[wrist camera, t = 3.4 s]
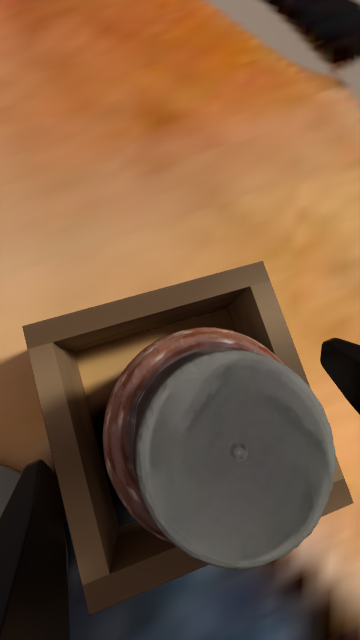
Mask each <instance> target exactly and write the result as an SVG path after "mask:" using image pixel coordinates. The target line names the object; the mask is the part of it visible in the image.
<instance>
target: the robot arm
mask: <svg viewBox="0 0 360 640" xmlns="http://www.w3.org/2000/svg"><path fill="white" fill-rule="evenodd" d="M320 361H321V365H322V366H323V368H324V369H325V371H326V372H327V373H328V375H329V376H330V377H331V379H332V380H333V381H334V383H335V384H336V385H337V387H338V388H339V389H340V391H341V392H342V393H343V395H344V396H345V398H346V399H347V400H348V401H349V403H350V404H351V405H352V406H353V407H354V409H355V410H356V411H357V412H358V413H359V414H360V345H357V344H354V343H351V342H348V341H345V340H342V339H339V338H332V339H329V340H327V341H324V342H323V344H322V349H321V358H320ZM0 640H70V631H69V606H68V582H67V557H66V538H65V530H64V523H63V516H62V510H61V503H60V497H59V490H58V484H57V479H56V476H55V474H54V472H53V471H52V470H51V469H50V468H49V466H48V465H47V464H46V463H45V462H44V461H43V460H41V459H39V460H37V461H34V462H32V463H29V464H27V465H26V466H25V468H24V469H23V471H22V473H21V475H20V477H19V479H18V481H17V483H16V486H15V488H14V490H13V492H12V494H11V496H10V498H9V500H8V502H7V504H6V506H5V508H4V510H3V512H2V514H1V516H0Z"/></svg>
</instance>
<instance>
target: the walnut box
mask: <svg viewBox="0 0 360 640" xmlns="http://www.w3.org/2000/svg"><path fill="white" fill-rule="evenodd" d="M226 307H229V310H230V313H231V316H232V319H233V322H234V325H235V327H236V330H237V333H240V334H243V335H245V336H248V337H250V338H252V339H254V340H256V341H257V342H259V343H261V344H262V345H264V346H265V347H267V348H268V349H269V350H270V351H271V352H272V353H274V354H275V355H276V356H277V357H278V358H279V359H280V360H281V361H282V362H283V364H284V365H286V366H287V367H289V368H290V369H291V370H292V371H294V372H295V373H297V374H298V375H299V376H300V377H301V378H302V379H303V380H304V382H305V383H306V384H307V385H309V383H308V380H307V378H306V375H305V372H304V370H303V367H302V364H301V362H300V359H299V356H298V354H297V351H296V348H295V346H294V343H293V340H292V338H291V335H290V332H289V330H288V327H287V324H286V322H285V319H284V316H283V314H282V311H281V308H280V306H279V303H278V300H277V298H276V295H275V293H274V290H273V287H272V285H271V282H270V279H269V277H268V274H267V271H266V269H265V266H264V263H263V261H261V262H257V263H253V264H250V265H246V266H242V267H239V268H235V269H231V270H228V271H224V272H220V273H216V274H213V275H209V276H205V277H202V278H198V279H194V280H191V281H187V282H183V283H180V284H176V285H172V286H169V287H165V288H161V289H158V290H154V291H150V292H147V293H143V294H139V295H136V296H132V297H128V298H124V299H121V300H117V301H113V302H110V303H106V304H102V305H99V306H95V307H91V308H88V309H84V310H80V311H77V312H73V313H69V314H66V315H62V316H58V317H55V318H51V319H47V320H43V321H40V322H36V323H32V324H29V325H25V326H22V327H23V331H24V336H25V340H26V344H27V349H28V353H29V357H30V361H31V366H32V370H33V374H34V379H35V383H36V387H37V392H38V396H39V400H40V405H41V409H42V413H43V417H44V422H45V426H46V430H47V435H48V439H49V443H50V448H51V452H52V456H53V461H54V465H55V469H56V473H57V478H58V482H59V486H60V491H61V495H62V499H63V504H64V508H65V512H66V517H67V521H68V525H69V529H70V534H71V538H72V542H73V547H74V551H75V555H76V560H77V564H78V568H79V573H80V577H81V581H82V585H83V590H84V594H85V598H86V603H87V607H88V611H89V615H91V614H94V613H96V612H98V611H101V610H103V609H105V608H108V607H110V606H112V605H115V604H117V603H119V602H122V601H124V600H126V599H129V598H131V597H134V596H136V595H138V594H141V593H143V592H145V591H148V590H150V589H152V588H155V587H157V586H159V585H162V584H164V583H166V582H169V581H171V580H174V579H176V578H178V577H181V576H183V575H185V574H188V573H190V572H192V571H195V570H197V569H199V568H202V567H204V566H207V565H209V564H206V563H203V562H201V561H199V560H197V559H194V558H192V557H190V556H189V555H187V554H186V553H184V552H183V551H181V550H180V549H179V548H177V547H176V546H175V545H174V544H172V543H170V542H168V541H166V540H162V539H160V538H158V537H157V536H155V535H154V534H152V533H151V532H149V531H147V530H146V529H145V528H144V527H143V526H142V525H140V524H139V523H138V522H137V520H134V521H131V522H129V523H126V524H123V525H121V526H119V524H118V520H117V516H116V513H115V509H114V505H113V501H112V497H111V493H110V489H109V485H108V481H107V478H106V474H105V470H104V466H103V462H102V458H101V454H100V450H99V446H98V442H97V439H96V435H95V431H94V427H93V423H92V419H91V415H90V411H89V407H88V403H87V400H86V396H85V392H84V388H83V384H82V380H81V376H80V372H79V368H78V365H77V361H76V357H75V353H74V352H75V351H79V350H82V349H86V348H89V347H93V346H96V345H99V344H103V343H106V342H110V341H113V340H117V339H120V338H123V337H127V336H130V335H134V334H137V333H141V332H144V331H147V330H151V329H154V328H158V327H161V326H165V325H168V324H171V323H175V322H178V321H182V320H185V319H189V318H192V317H195V316H199V315H202V314H206V313H209V312H213V311H216V310H220V309H223V308H226ZM309 387H310V386H309ZM310 389H311V388H310ZM352 503H353V500H352V497H351V495H350V492H349V489H348V487H347V484H346V482H345V479H344V476H343V474H342V471H341V468H340V466H339V463H338V460H337V458H336V455H335V472H334V478H333V489H332V491H331V492H330V495H329V500H328V502H327V504H326V507H325V509H324V511H323V514H322V516H324V515H327V514H329V513H331V512H334V511H336V510H338V509H341V508H343V507H345V506H348V505H350V504H352ZM322 516H321V517H322Z"/></svg>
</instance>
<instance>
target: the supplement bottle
mask: <svg viewBox="0 0 360 640" xmlns="http://www.w3.org/2000/svg"><path fill="white" fill-rule="evenodd" d="M103 449H104V459H105V464H106V469H107V472H108V475H109V478H110V480H111V483H112V485H113V487H114V489H115V491H116V492H117V495H118V497H119V499H120V500H121V502H122V504H123V505H124V507H125V508H126V509H127V511H128V512H129V513H130V514H131V516H132V517H133V518H134V519H136V520H137V522H138V523H139V524H140V525H142V526H143V527H144V528H145V529H146V530H147V531H149V532H151V533H152V534H154V535H155V536H157V537H158V538H160V539H162V540H166V541H168V542H170V543H172V544H174V545H175V546H176V547H177V548H179V549H180V550H181V551H183V552H184V553H186V554H187V555H189V556H190V557H192V558H194V559H197V560H199V561H201V562H203V563H206V564H209V565H213V566H217V567H223V568H228V569H246V568H253V567H257V566H260V565H263V564H267V563H269V562H271V561H273V560H276V559H280V558H282V557H284V556H285V555H286V554H288V553H290V552H291V551H292V550H293V549H295V548H296V547H298V546H299V545H300V543H301V542H302V541H303V540H304V539H305V538H306V537H308V536H309V535H310V534H311V533H312V531H313V529H314V528H315V526H316V525H317V523H318V521H319V519H320V518H321V516H322V514H323V511H324V509H325V507H326V504H327V502H328V500H329V495H330V492H331V491H332V489H333V478H334V472H335V448H334V444H333V436H332V431H331V427H330V424H329V422H328V420H327V417H326V414H325V411H324V409H323V407H322V405H321V403H320V402H319V401H318V399H317V398H316V396H315V395H314V393H313V392H312V390H311V389H310V387H309V385H307V384H306V383H305V382H304V380H303V379H302V378H301V377H300V376H299V375H298V374H297V373H295V372H294V371H292V370H291V369H290V368H289V367H287V366H286V365H284V364H283V362H282V361H281V360H280V359H279V358H278V357H277V356H276V355H275V354H274V353H272V352H271V351H270V350H269V349H268V348H267V347H265V346H264V345H262V344H261V343H259V342H257V341H256V340H254V339H252V338H250V337H248V336H245V335H243V334H240V333H237V332H235V331H231V330H226V329H220V328H207V327H203V328H193V329H187V330H183V331H178V332H176V333H173V334H170V335H167V336H165V337H163V338H161V339H159V340H157V341H155V342H153V343H152V344H150V345H149V346H147V347H146V348H145V349H144V350H142V351H141V352H140V353H139V354H138V355H137V356H136V357H135V358H134V359H133V360H132V361H131V362H130V363H129V364H128V365H127V367H126V368H125V369H124V371H123V372H122V373H121V375H120V376H119V378H118V380H117V382H116V384H115V386H114V388H113V390H112V392H111V395H110V398H109V401H108V404H107V408H106V412H105V418H104V426H103Z"/></svg>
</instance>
